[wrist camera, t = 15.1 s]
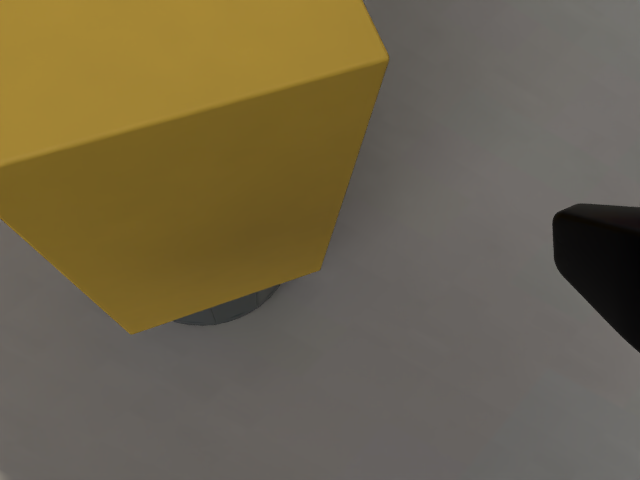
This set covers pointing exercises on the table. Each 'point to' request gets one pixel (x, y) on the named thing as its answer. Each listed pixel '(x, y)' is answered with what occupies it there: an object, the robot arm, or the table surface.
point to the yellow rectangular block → (181, 142)
